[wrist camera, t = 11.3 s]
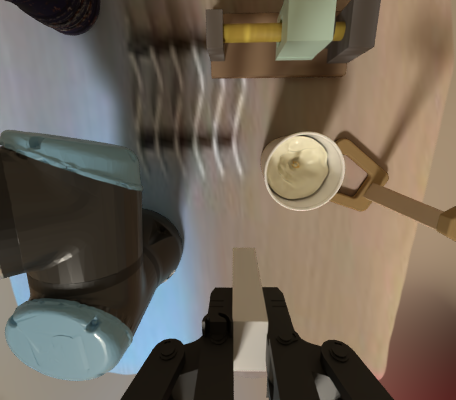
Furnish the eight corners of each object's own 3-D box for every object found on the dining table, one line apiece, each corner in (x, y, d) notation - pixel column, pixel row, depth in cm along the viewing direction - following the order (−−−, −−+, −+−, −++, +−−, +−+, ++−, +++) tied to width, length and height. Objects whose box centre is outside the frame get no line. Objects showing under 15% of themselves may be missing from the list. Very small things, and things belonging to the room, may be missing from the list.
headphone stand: (338, 135, 39) (462, 139, 18) (392, 166, 40) (567, 205, 19) (303, 189, 42) (375, 249, 21) (355, 217, 43) (472, 300, 22)
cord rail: (212, 78, 37) (206, 63, 29) (210, 18, 35) (204, -16, 27) (341, 76, 37) (372, 60, 29) (348, 16, 35) (383, -20, 26)
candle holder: (310, 126, 39) (343, 123, 27) (316, 183, 41) (347, 203, 30) (251, 138, 40) (258, 140, 28) (260, 193, 42) (270, 217, 31)
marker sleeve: (275, 60, 33) (286, 41, 26) (277, 18, 32) (289, -14, 25) (311, 60, 33) (332, 40, 26) (314, 17, 32) (338, -15, 25)
